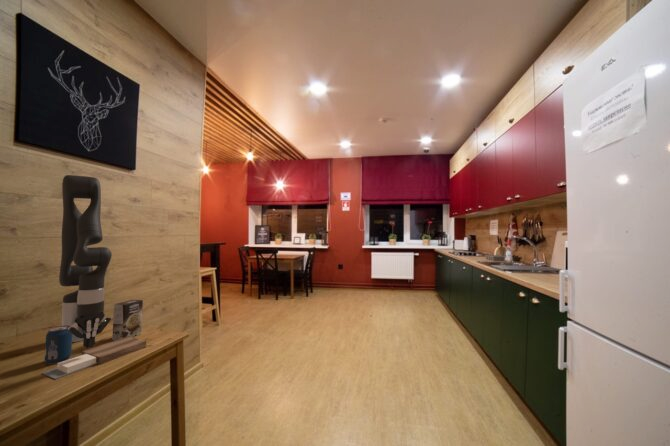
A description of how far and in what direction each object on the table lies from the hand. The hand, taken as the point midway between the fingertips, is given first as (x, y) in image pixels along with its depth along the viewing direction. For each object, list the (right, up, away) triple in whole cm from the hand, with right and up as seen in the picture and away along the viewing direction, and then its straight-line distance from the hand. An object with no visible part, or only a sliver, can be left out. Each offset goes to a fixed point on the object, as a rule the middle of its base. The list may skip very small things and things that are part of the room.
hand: (88, 347), depth 98 cm
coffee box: (-4, -7, +23) cm, 25 cm away
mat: (-2, -5, -5) cm, 7 cm away
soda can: (-12, -6, +1) cm, 14 cm away
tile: (-1, -5, -4) cm, 6 cm away
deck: (+3, -6, +8) cm, 10 cm away
